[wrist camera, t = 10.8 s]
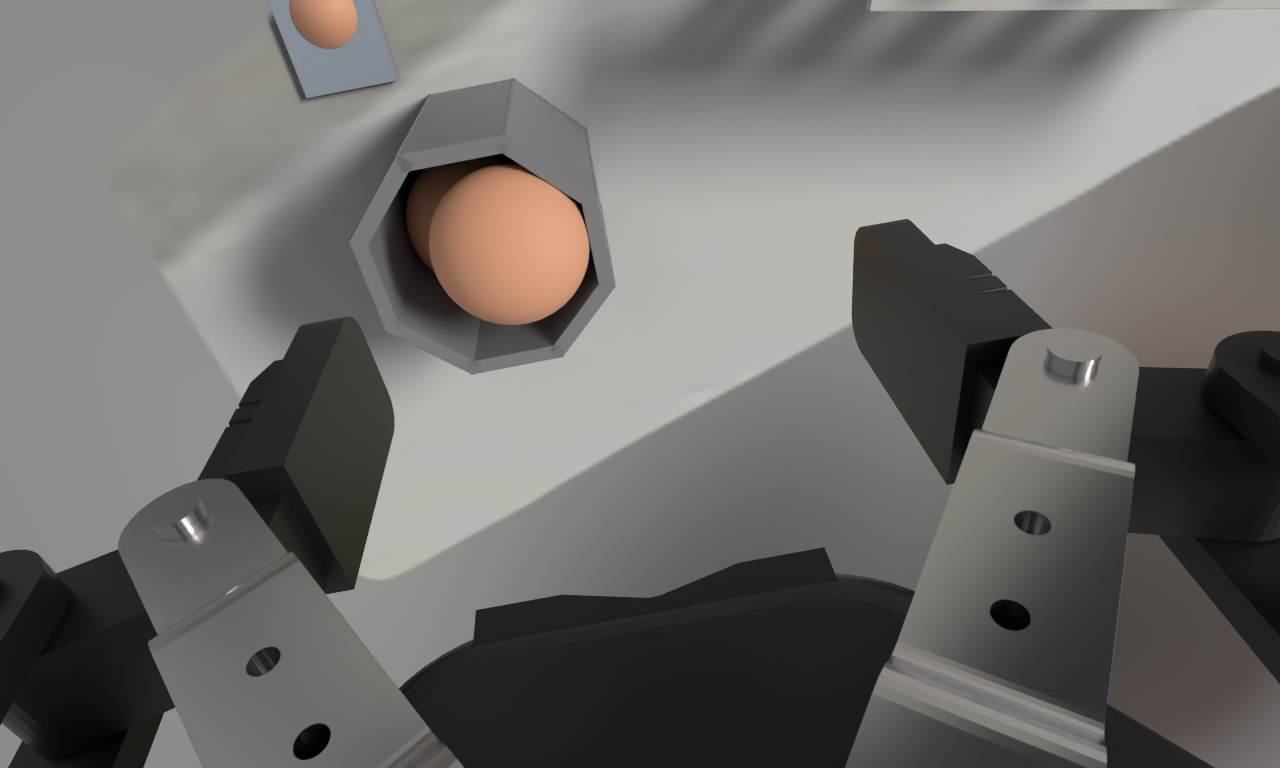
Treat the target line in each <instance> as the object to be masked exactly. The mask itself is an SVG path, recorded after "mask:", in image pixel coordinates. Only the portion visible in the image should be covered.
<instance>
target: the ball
mask: <svg viewBox="0 0 1280 768" xmlns="http://www.w3.org/2000/svg"><path fill="white" fill-rule="evenodd" d="M589 250H590V242H589V235H588V231H587V226H586V222H585V219H584V216H583V214H582V212H581V210H580V208H579V206H578V204H577V203H576V201H575V200H574V199H573V198H572V197H570V196H568V195H567V194H565V193H564V192H562V191H561V190H559V189H557V188H556V187H554V186H553V185H551V184H550V183H548V182H547V181H545V180H543V179H542V178H540V177H539V176H537V175H536V174H534V173H532V172H531V171H529V170H528V169H526V168H525V167H523V166H521V165H514V164H499V165H492V166H487V167H484V168H481V169H478V170H476V171H473V172H471V173H470V174H468V175H466V176H464V177H463V178H461V179H460V180H459V181H458V182H456V183H455V184H454V185H453V186H452V187H451V188H450V189H449V190H448V191H447V193H446V194H445V195H444V196H443V198H442V199H441V201H440V203H439V205H438V206H437V209H436V211H435V213H434V216H433V219H432V222H431V227H430V233H429V251H430V257H431V262H432V266H433V269H434V271H435V274H436V276H437V278H438V280H439V282H440V284H441V285H442V287H443V288H444V290H445V291H446V293H447V294H448V295H449V296H450V298H451V299H452V300H453V301H454V302H455V303H457V304H458V305H459V306H460V307H461V308H463V309H464V310H465V311H467V312H468V313H470V314H472V315H474V316H476V317H478V318H480V319H482V320H485V321H488V322H492V323H496V324H503V325H520V324H527V323H531V322H535V321H538V320H541V319H543V318H545V317H547V316H549V315H551V314H553V313H554V312H556V311H557V310H558V309H560V308H561V307H562V306H564V305H565V304H566V303H567V302H568V301H569V299H570V298H571V297H572V296H573V295H574V294H575V292H576V291H577V289H578V287H579V286H580V284H581V282H582V280H583V278H584V275H585V272H586V269H587V265H588V261H589Z"/></svg>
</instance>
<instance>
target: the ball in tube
mask: <svg viewBox="0 0 1280 768" xmlns="http://www.w3.org/2000/svg"><path fill="white" fill-rule="evenodd" d="M499 164H513V163H511V162H510V161H508V160H507V159H505V158H503V157H501V156H499V155H491V156H486V157H480V158H475V159H470V160H465V161H460V162H455V163H449V164H444V165H439V166H434V167H429V168H425V169H424V170H423V171H422V172H421V174H420V175H419V176H418V178H417V179H416V181H415V182H414V184H413V186H412V189H411V191H410V193H409V196H408V201H407V206H406V225H407V230H408V234H409V237H410V240H411V243H412V245H413V247H414V249H415V251H416V253H417V254H418V256H419V257H420V258H421V260H422V261H423V262H424V263H425V264H426V265H427V266H428V267H429V268H430V269H431V270H432V271H433V272H435V271H434V269H433V266H432V262H431V257H430V251H429V233H430V227H431V222H432V219H433V216H434V213H435V211H436V209H437V206H438V205H439V203H440V201H441V199H442V198H443V196H444V195H445V194H446V193H447V191H448V190H449V189H450V188H451V187H452V186H453V185H454V184H455V183H456V182H458V181H459V180H460V179H461V178H463V177H464V176H466V175H468V174H470V173H471V172H473V171H476V170H478V169H481V168H484V167H487V166H492V165H499Z"/></svg>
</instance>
